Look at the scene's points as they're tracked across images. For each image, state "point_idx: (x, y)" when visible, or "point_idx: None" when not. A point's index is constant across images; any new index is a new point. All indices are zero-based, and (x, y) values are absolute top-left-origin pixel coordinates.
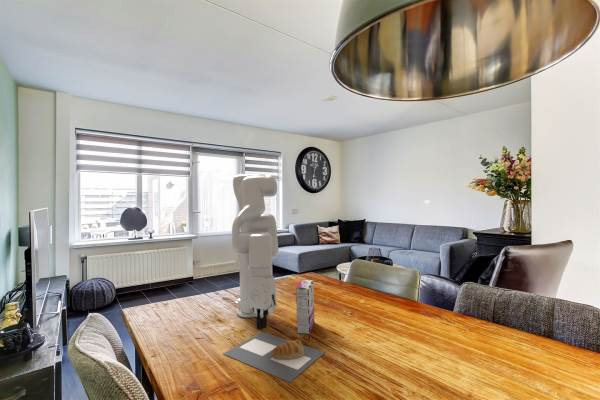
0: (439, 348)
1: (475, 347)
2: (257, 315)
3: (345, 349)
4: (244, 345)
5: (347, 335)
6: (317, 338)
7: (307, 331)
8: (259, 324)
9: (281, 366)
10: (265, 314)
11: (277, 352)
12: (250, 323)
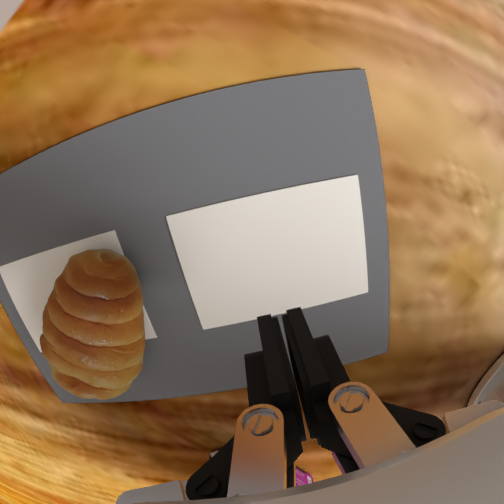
0: (18, 482)
1: (12, 491)
2: (328, 402)
3: (61, 436)
4: (351, 207)
5: (131, 482)
6: (165, 448)
7: None
8: (268, 344)
9: (38, 233)
10: (216, 456)
11: (71, 269)
12: (475, 345)
